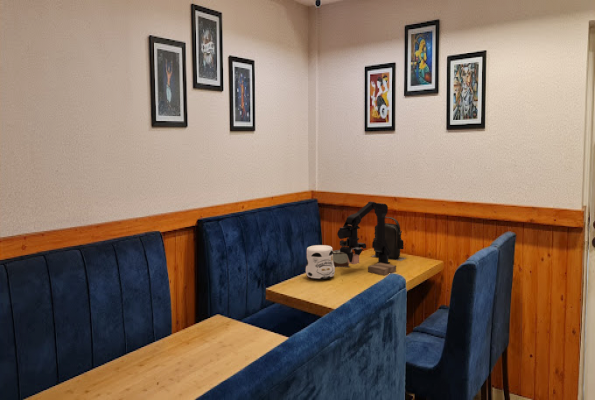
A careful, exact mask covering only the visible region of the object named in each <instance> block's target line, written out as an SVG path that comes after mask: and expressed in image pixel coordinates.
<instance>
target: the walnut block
mask: <svg viewBox="0 0 595 400" xmlns="http://www.w3.org/2000/svg"><path fill="white" fill-rule="evenodd" d="M396 272H397V266H396V265H394V264H391V263H389V264H385V263H377V262H376V263H374V264H371V265H368V266H367V273H371V274H374V275H378V276H379V275H380V276H387V275H390V274H393V273H396ZM389 273H390V274H389Z"/></svg>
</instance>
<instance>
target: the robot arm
mask: <svg viewBox="0 0 595 400" xmlns="http://www.w3.org/2000/svg"><path fill="white" fill-rule="evenodd" d="M388 209H389V207H388V204H386V203H383V202H381V203H380V202H375V201H368V202H367V204H365V205H364V206H363V207H362V208H360V209H359V210H358V211H357V212H355V213H352V214H350V215H348V216H347V217H346V220H345V221H344V223H343V225H342V226H341V227H339V229H338V230H337V237H338V239H339V246H340V248H339V250H340V252H343V253H346V254H347V256H348V259H349V261H350V262H352V258H353V254H357V255H359V256H360V255H361V254H362V252H363V250H364V249H367V244H366V243H364V242H359V240H360V238H359V236H358V233H359V232H358V230H360V229H361V227H360V226H359V224H360V223H361V222H362V219H363V218H364V217H365V216H367V215H368V214H369V213H371V212H372V210H374V214H375V216H376V225H377V240H376V242H374V248H373V250H374V249H375V251H376V254H379V257H377V259H378V261H377V262H376V264H377V263H385V264H391V262H390V261H389V259H388V256H389V255H391V251H390V250H389V248H388V245H387V242H386V240H385V223H386V218H385V217H387V215H388ZM344 239H346V240H344ZM375 251H374V252H375Z"/></svg>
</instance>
